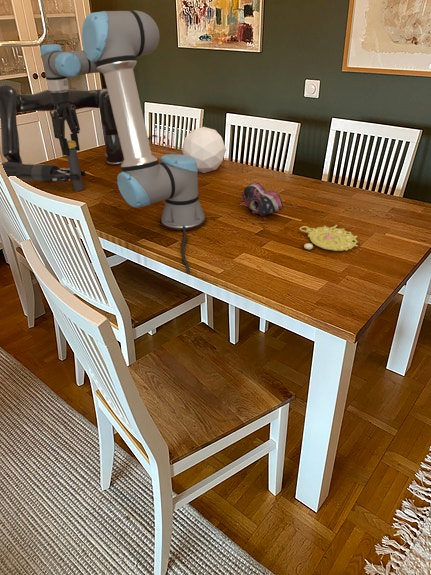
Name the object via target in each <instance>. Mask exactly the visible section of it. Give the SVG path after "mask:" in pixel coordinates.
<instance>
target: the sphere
mask: <svg viewBox="0 0 431 575" xmlns="http://www.w3.org/2000/svg"><path fill="white" fill-rule="evenodd" d="M226 151H227V148H226V145H225V142H224V140H223V137H222V136H221V134H219V132H218V131H217V130H216V129H213V128H211V127H206V126H202V127H198V128H195V129H191V131H189V133H188V134H187V135H186V136H185V137H184V141H183V145H182V148H181V152H182V155H186V156H190V157H192V158H194V159H195V160H196V163H197V170H198V173H203V174H206V173H210V172H212V171H216V170H217V169H218V168H219V167H220V165H221V164H222V163H223V161H224V158H225V155H226V153H227V152H226Z"/></svg>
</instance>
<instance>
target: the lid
mask: <svg viewBox="0 0 431 575" xmlns="http://www.w3.org/2000/svg"><path fill="white" fill-rule="evenodd" d="M67 143H68V148H74V147H76V142H75V141H73V140H71V139H70V140H67Z"/></svg>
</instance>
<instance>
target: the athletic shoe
mask: <svg viewBox="0 0 431 575" xmlns="http://www.w3.org/2000/svg"><path fill="white" fill-rule="evenodd" d="M241 197H242V199H243V201H238V203H239V204H241V205H245V206H246V207H247V208H248V210H249V211H250V210H251V213H252V214H255V215H260V217H266V216H267V215H270V214H274V213H275V212H279V211H282V210H283V209H284V205H283V201H282V198H281V196H280V195H279V194H278V192H277V191H274V190H269V191H267V190H266V189H265V187H264V186H263V185H262V184H261V183H258V182H251V183H249V184H247V186H246V187H245V188H244V190H243V191H242V192H241Z"/></svg>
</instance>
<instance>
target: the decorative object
mask: <svg viewBox="0 0 431 575" xmlns="http://www.w3.org/2000/svg"><path fill="white" fill-rule="evenodd" d="M303 228H304V229H305V230H304V229H303ZM299 231H300V232H303V233H305V234H307V237H308V238H309V240H310V241H311V243H304V244H303V248H304V249H305V250H313V249H314V245H315V246H316V247H318V248H321V249H324V250H328V251H335V252H341V251H348V250H352V249H354V247H356V248H358V247H359V245H358V244H357V243H359V240H357V238H359V237H358V235H353V234H352V231H347V230H346V229H345V228H344V227H342V228H338V224H335V225H333V226H331V227H328V226H327V225H326V224H325V225H323V226H322V227H321V226H317V227H316V228H314V227H309V226H308V225H302V226H300V227H299ZM313 244H314V245H313Z"/></svg>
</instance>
